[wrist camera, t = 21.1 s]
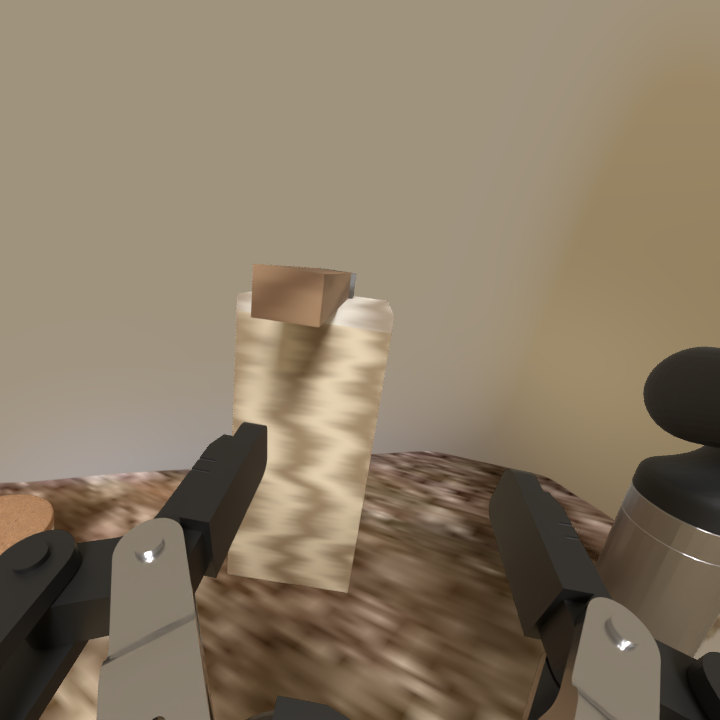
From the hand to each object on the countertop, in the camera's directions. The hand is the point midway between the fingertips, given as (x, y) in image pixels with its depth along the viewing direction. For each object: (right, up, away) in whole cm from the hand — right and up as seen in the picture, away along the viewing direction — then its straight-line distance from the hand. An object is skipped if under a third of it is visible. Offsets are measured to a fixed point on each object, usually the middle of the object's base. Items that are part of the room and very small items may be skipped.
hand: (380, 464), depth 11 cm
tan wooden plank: (-4, +9, +20) cm, 22 cm away
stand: (-9, -20, +34) cm, 40 cm away
